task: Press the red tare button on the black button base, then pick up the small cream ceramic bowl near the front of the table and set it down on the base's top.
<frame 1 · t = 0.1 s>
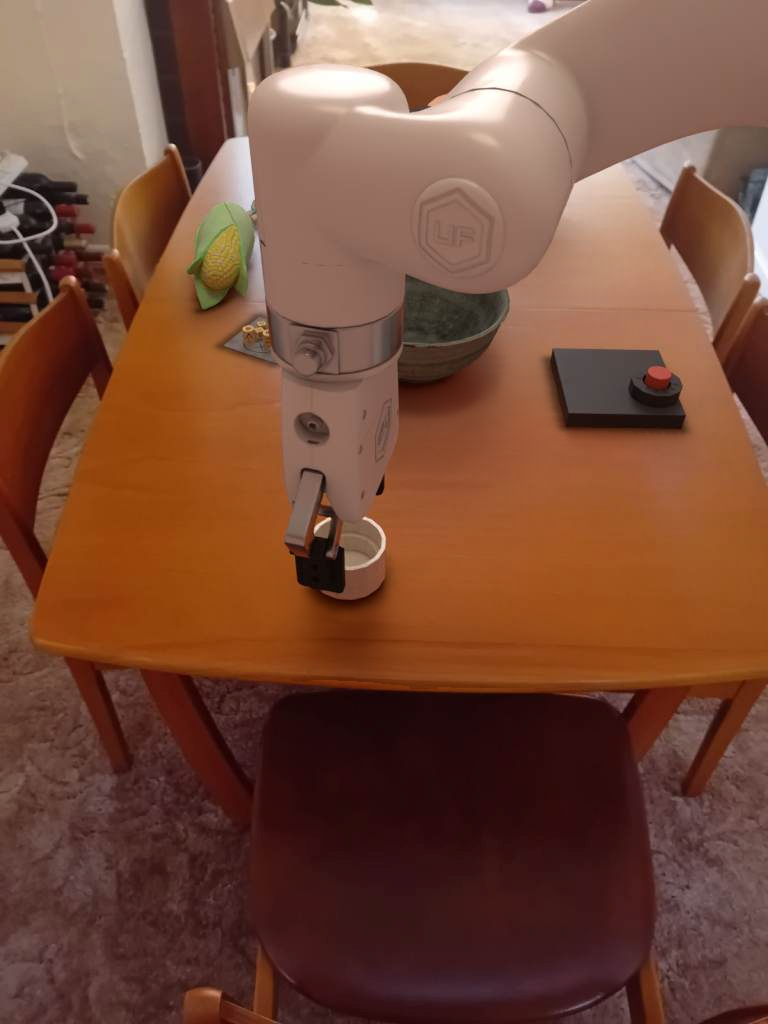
hand: (343, 535, 56), 15 cm above the table, tool pointing down, fingers open, 9 cm apart
small bowl: (348, 574, 73), on the table
pottery: (487, 204, 131), on the table
set of gold cylinders: (267, 340, 101), on the table
bowl: (415, 365, 97), on the table
mug: (410, 269, 114), on the table
tare button: (657, 378, 89), point 4 cm above the table, slide at 0.1 cm
corn: (227, 275, 112), on the table
grey-green animal figurine: (280, 219, 126), on the table
black button base: (612, 393, 93), on the table
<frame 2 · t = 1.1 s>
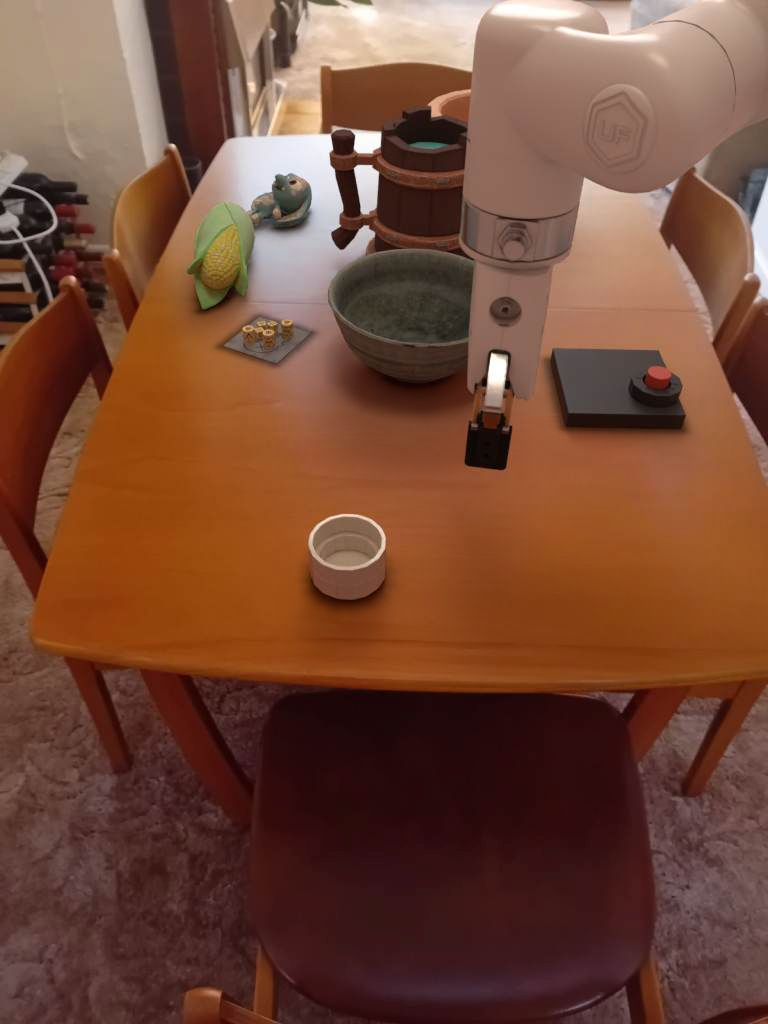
hand: (490, 427, 64), 15 cm above the table, tool pointing down, fingers open, 9 cm apart
nothing on the table moved.
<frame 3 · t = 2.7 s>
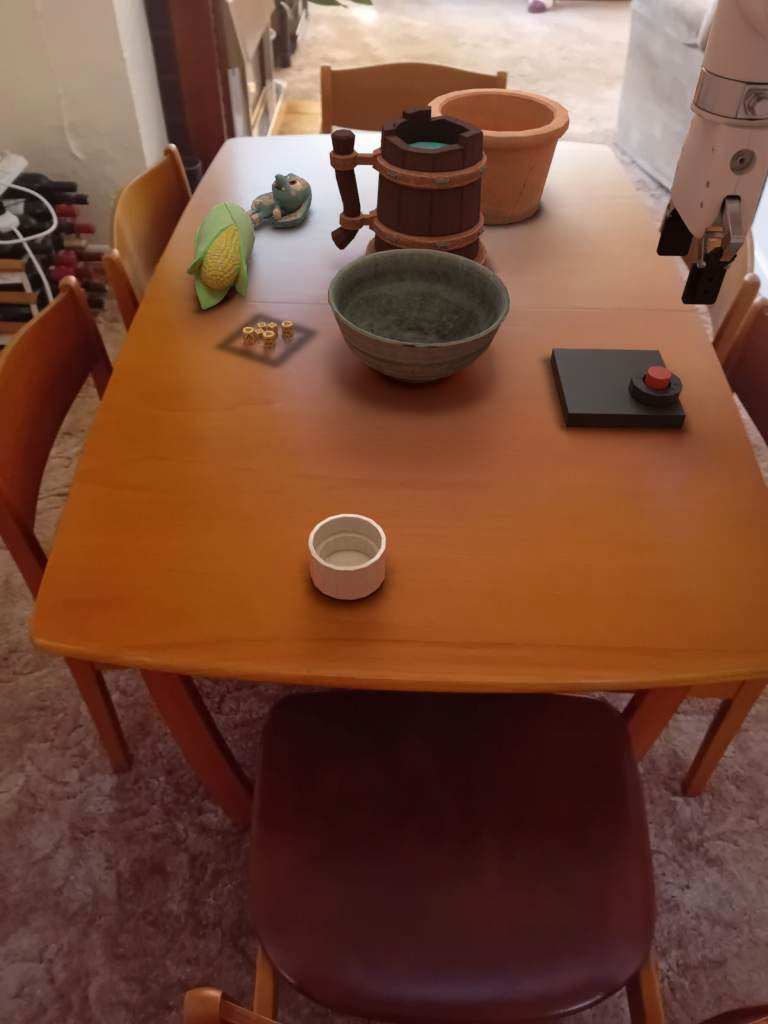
hand: (683, 277, 79), 17 cm above the table, tool pointing down, fingers open, 9 cm apart
nothing on the table moved.
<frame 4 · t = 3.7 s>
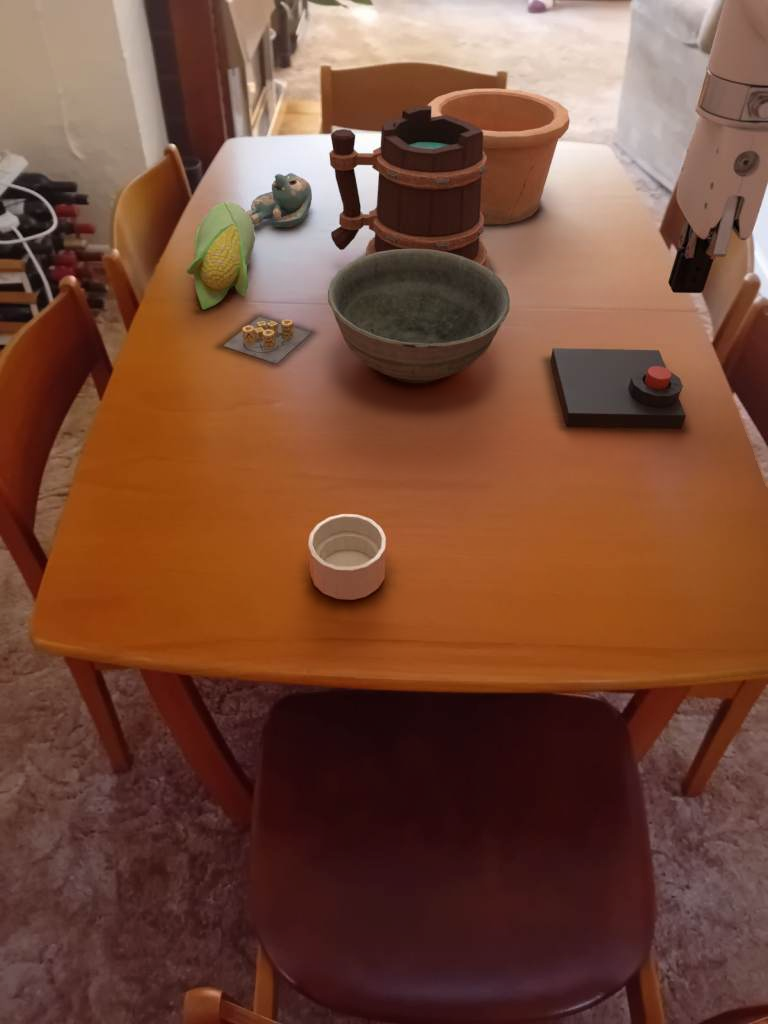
hand: (684, 288, 81), 15 cm above the table, tool pointing down, fingers closed
nothing on the table moved.
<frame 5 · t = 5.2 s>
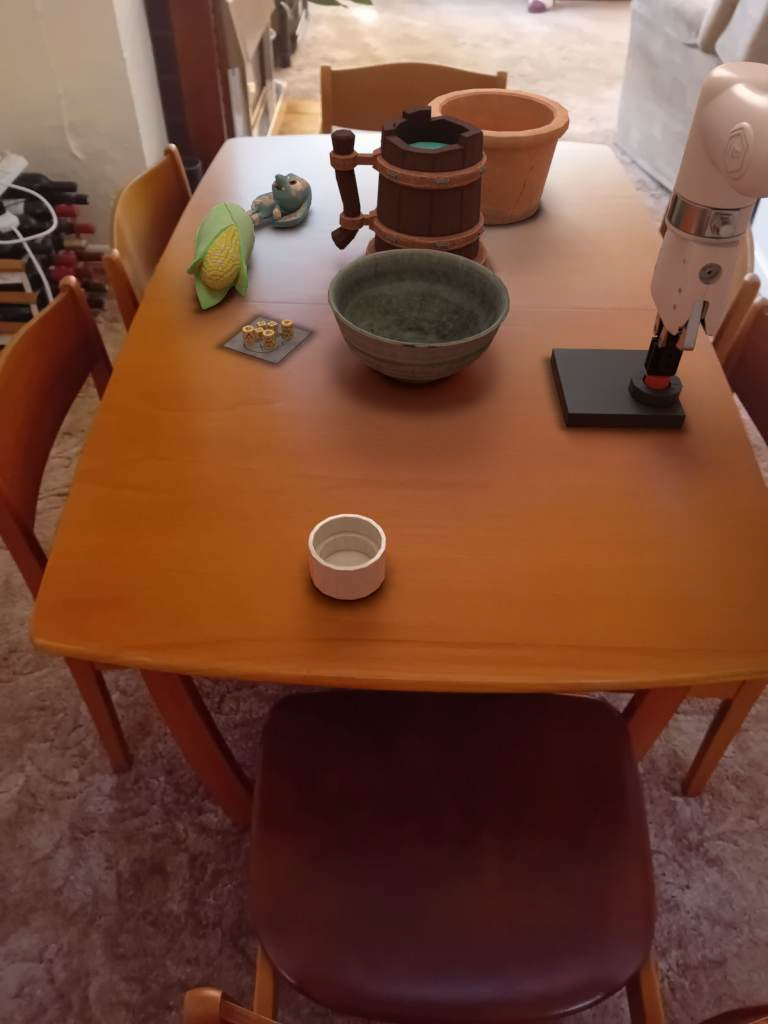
hand: (659, 371, 88), 5 cm above the table, tool pointing down, fingers closed
tare button: (657, 378, 89), point 4 cm above the table, slide at 0.1 cm, touching gripper
everything else where it was.
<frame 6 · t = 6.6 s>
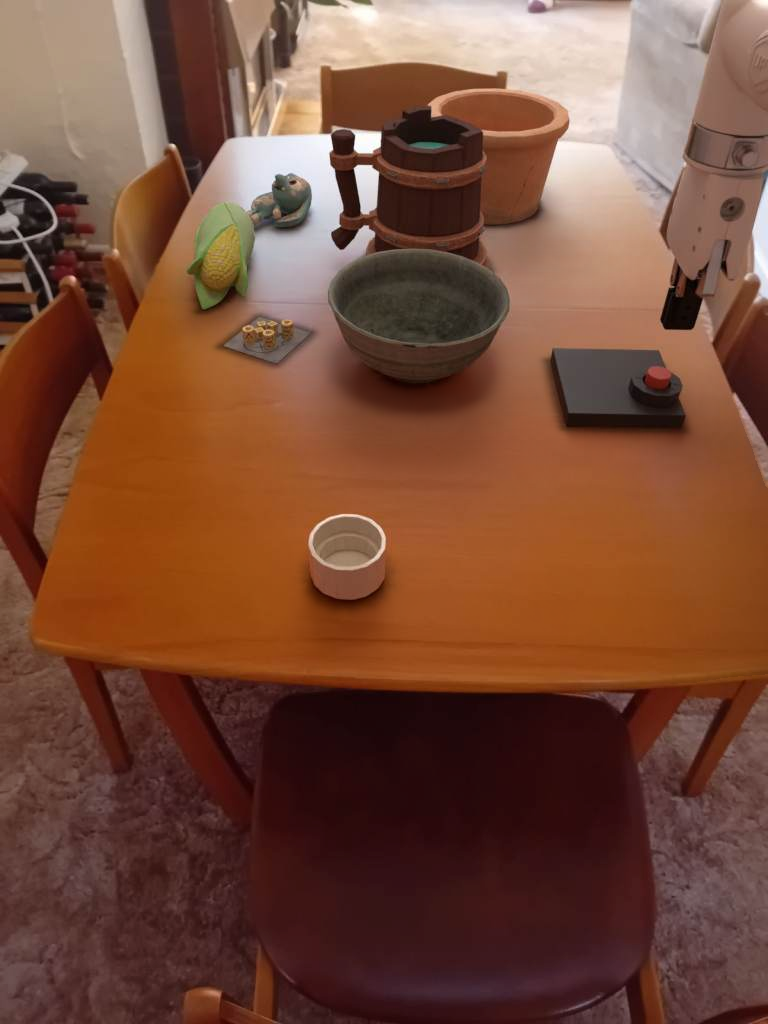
hand: (676, 325, 83), 11 cm above the table, tool pointing down, fingers closed
tare button: (657, 378, 89), point 4 cm above the table, slide at 0.1 cm
everything else where it was.
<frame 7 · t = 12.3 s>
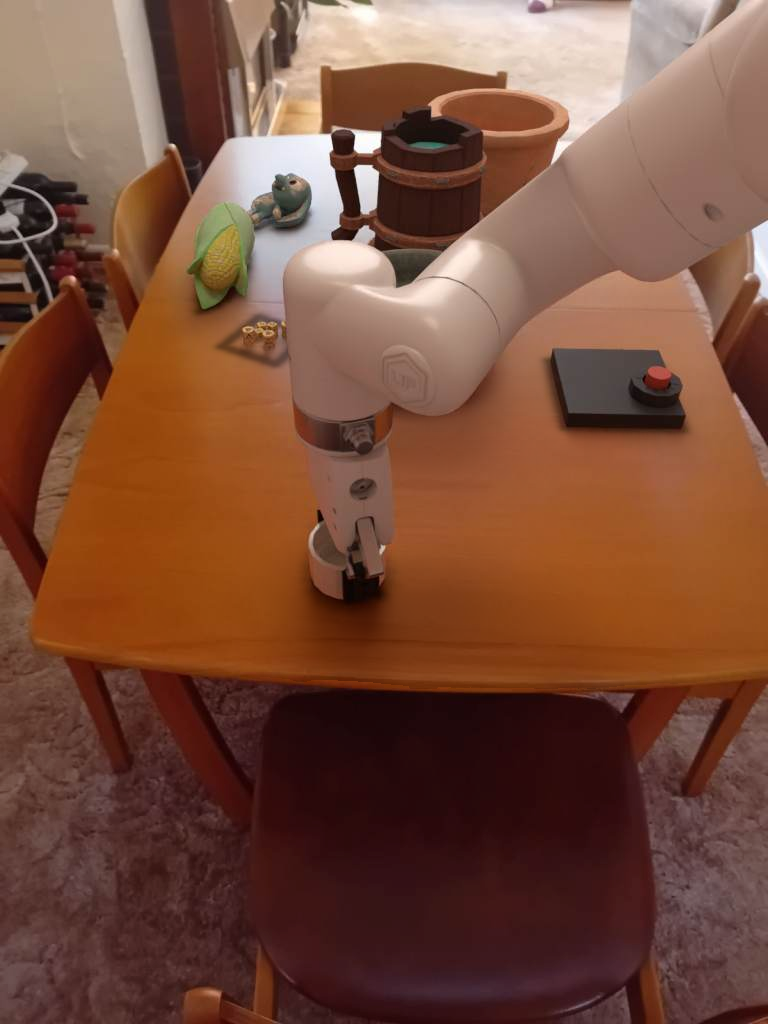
hand: (348, 566, 72), 1 cm above the table, tool pointing down, fingers closed on small bowl, 6 cm apart
small bowl: (348, 574, 73), on the table, touching gripper
everything else where it was.
when the fingers open (3 cm above the table, at t = 20.9 s): small bowl stays where it is, resting on black button base.
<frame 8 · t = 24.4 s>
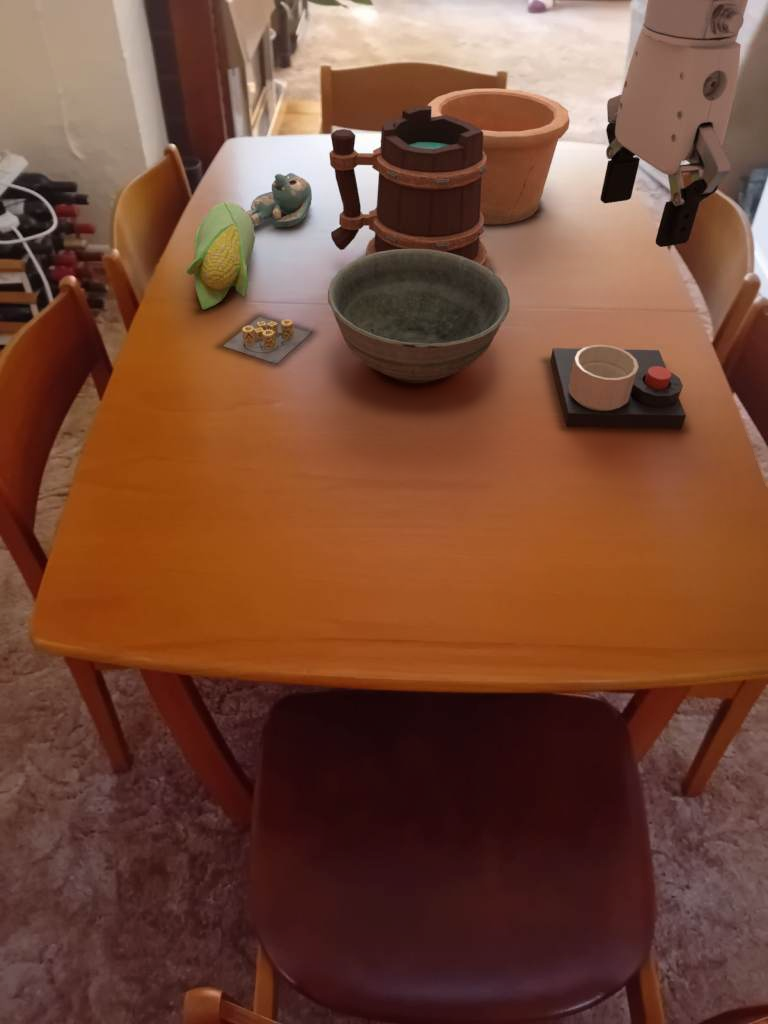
hand: (641, 221, 75), 22 cm above the table, tool pointing down, fingers open, 9 cm apart
small bowl: (598, 395, 90), point 2 cm above the table, touching black button base
everything else where it was.
at the end: tare button pushed in 0.9 cm at the most during the clip, back to where it started at the end; small bowl 0.0 cm from the target spot on the black button base, point 1.9 cm above the black button base's base; small bowl tilted 0° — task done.
